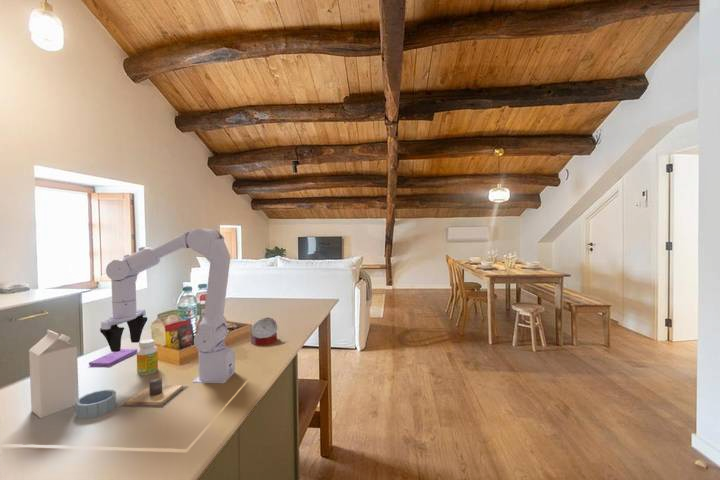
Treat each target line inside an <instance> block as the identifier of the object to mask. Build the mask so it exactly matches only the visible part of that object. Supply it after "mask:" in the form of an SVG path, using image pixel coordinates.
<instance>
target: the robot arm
mask: <svg viewBox="0 0 720 480" xmlns="http://www.w3.org/2000/svg"><path fill="white" fill-rule="evenodd" d="M182 249H191V250H192V251H194V252H196V253H198V254H200V255H202V256H203V258H205V259H206V260H207V261H208V263H209V271H208V278H207V287H206V296H205V301H204V302H205V303H204V312H203V317H202V319H201V321H200V323H199V325H198V331H197V333H196V334H195V335H194V338H193V344H194V347H195V348H196V349H197V351H198V354H197V356H198V376H197V377H196V378H195V379H194V380H192V383H195V384H196V383H197V384H202V383H203V384H205V383H206V384H208V383H209V384H225V383H226V382H227V381H228V380H229V379H231V377H232V376H234V374H235V373H236V368H235V367H236V366H235V365H236V364H235V361H236V359H235V349H233V348H232V347H231V348H230V347H227V346H226V342H225V340H226V338H227V336H228V334H229V330H228V326H227V318H226V316H225V315H224V313H225V303H226V297H227V290H228V289H227V286H228V281H229V280H228V279H229V272H230V265H231V254H230V252H229V248H228V246H227V245H226V243H225V237H224V235H223V234H221V232H219V231H218V230H217V229H215V228H199V227H198V228H193V229H191V230H190V231H185V232H183V233H181V234H178V235H177V236H175V237H173V238H171V239H170V240H167V241H165V242H164V243H162V244H159V245H158V246H156V247H154V248H153V247H150V246H147V247H146V246H142V247H141V246H140V247H139V248H138V250H137V251H136V252H133V253H132V254H126V255H124V256H123V258H122V259H113V260H112V261H110V262H108V264H107V266H106V268H105V273H106V276H107V277H108V278H109V279H110V281H111V302H112V303H111V305H112V306H111V307H112V314H111V315H110V316H109V318H108V319H106V320H104V321H101V322H100V326H101V327H100V329H99V331H100V333H101V334H102V335H103V336H104V338H105V340H106V342H107V343H108V346H109V348H110V353H112V352H119V351H120V349H122V346H121V345H122V336H123V333H124V331H125V327H123V326H121V327H120V326H119V325H122V324H124V323H126V324H127V327H128V331H129V338H130V342H131V343H135V344H136V343H137V344H138V343H139V342H140V341H141V337H142V333H143V329H144V327H145V326H146V323H147V322H148V317H147V316H146V309H137V290H136V288H137V287H136V286H137V285H136V282H137V276H138V275H139V274H140V273H142V272H144V271H146V270H148V269H151V268H153V267H155V266H157V265H159V264H160V260H161V259H162V258H163V257H166V256H168V255H170V254H171V255H172V254H173V253H175V252H178V251H180V250H182Z"/></svg>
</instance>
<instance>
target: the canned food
mask: <svg viewBox="0 0 720 480" xmlns="http://www.w3.org/2000/svg"><path fill="white" fill-rule="evenodd" d="M250 329H251V331H250V333H251V334H250V344H252V345H254V346H267V345H268V346H269V345H272V344H274V343H276V342H277V341H278V338H277V336H278V333H277V331H278V325H277V322H276V320H275V319H274V318H272V317H264V318H261V319H259V320H258V321H256V322H255V323H254V324H253V325H252V327H251V328H250Z"/></svg>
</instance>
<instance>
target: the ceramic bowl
mask: <svg viewBox="0 0 720 480" xmlns="http://www.w3.org/2000/svg"><path fill="white" fill-rule="evenodd" d="M116 406H117V391H116V390H113V389H101V390H96V391H93V392H89V393H87V394H85V395H82V396H81V397H79V399H77V401H76V402H75V417H77V418H78V419H91V418H96V417H99V416H103V415H105V414H107V413H110V412H111V411H112V410H114V409H115V408H116Z"/></svg>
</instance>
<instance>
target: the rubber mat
mask: <svg viewBox="0 0 720 480" xmlns="http://www.w3.org/2000/svg"><path fill="white" fill-rule="evenodd" d="M188 388H189V386H187V385H186V386H184V385H183V388H182V389H181V390H180V391H179V392H177V393H176V394H175V395H174V396H172V397H171V398H170V399H169V400H168V401H166V402H165V403H164V404H163V405H126V402H124V403H122V404H121V405H120V406H119V408H151V409H152V408H153V409H154V408H156V409H164V407H166V406H167V405H168V404H169V403H170V402H172V401H173V400H174V399H176V398H177V397H178V396H179V395H180V394H181V393H183V392H184V391H185V390H186V389H188Z"/></svg>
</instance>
